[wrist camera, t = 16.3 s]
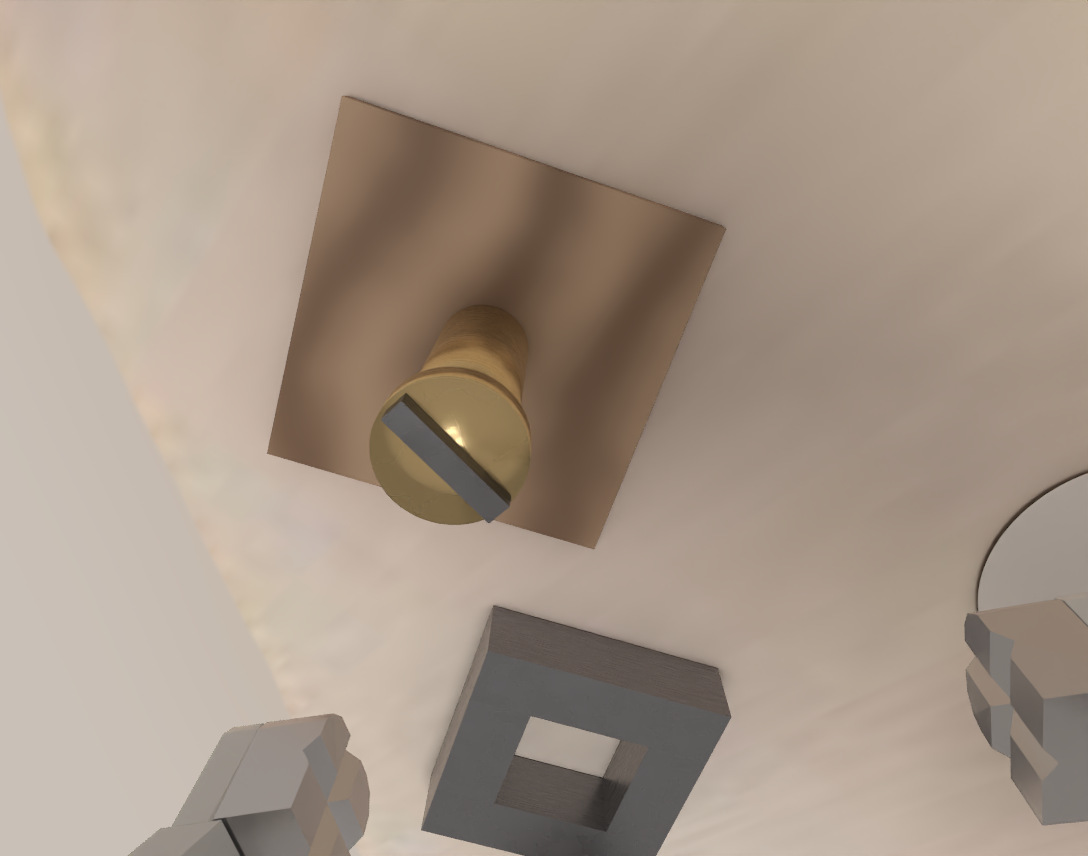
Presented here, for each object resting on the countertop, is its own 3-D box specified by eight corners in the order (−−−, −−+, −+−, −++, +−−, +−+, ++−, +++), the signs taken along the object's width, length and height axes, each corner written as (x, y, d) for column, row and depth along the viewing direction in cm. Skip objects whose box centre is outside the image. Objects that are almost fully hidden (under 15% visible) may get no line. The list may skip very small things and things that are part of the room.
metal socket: (717, 668, 47) (731, 717, 44) (634, 828, 52) (640, 884, 49) (493, 605, 46) (487, 650, 42) (431, 776, 51) (421, 830, 47)
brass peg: (485, 268, 37) (447, 352, 25) (564, 353, 39) (563, 471, 27) (402, 344, 39) (329, 457, 27) (481, 423, 40) (445, 564, 28)
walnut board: (721, 225, 37) (726, 228, 36) (593, 539, 44) (594, 549, 43) (347, 95, 35) (341, 95, 34) (273, 445, 42) (267, 453, 41)
